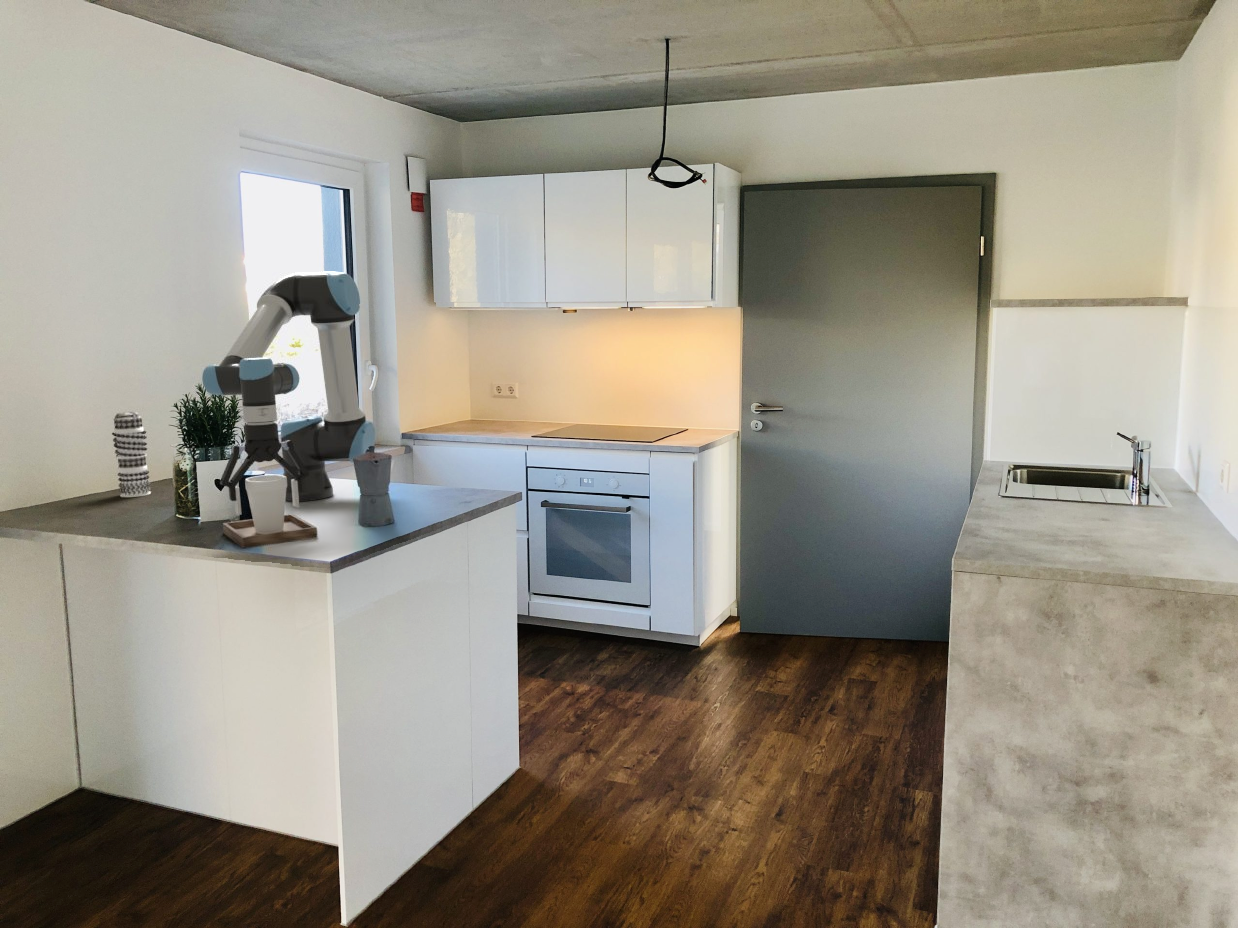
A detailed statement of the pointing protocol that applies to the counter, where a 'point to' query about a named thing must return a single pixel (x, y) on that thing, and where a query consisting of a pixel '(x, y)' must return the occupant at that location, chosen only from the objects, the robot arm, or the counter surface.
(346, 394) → the robot arm
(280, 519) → the foam cup
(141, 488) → the decorative candle
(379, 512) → the moka pot
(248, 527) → the walnut tray
